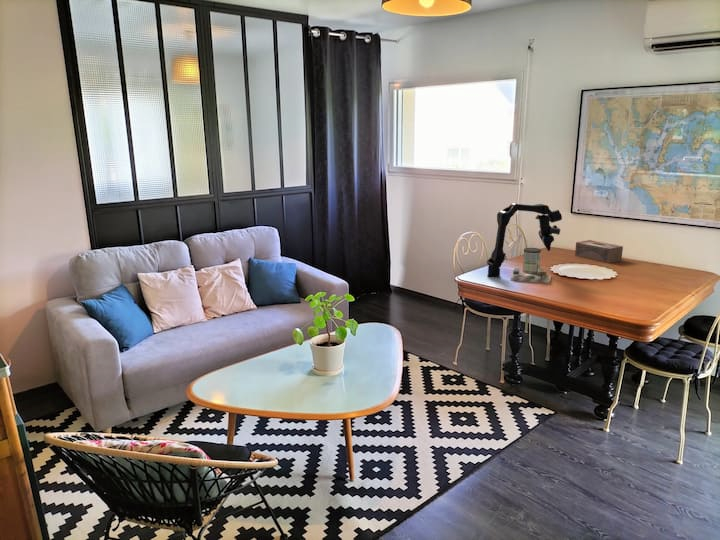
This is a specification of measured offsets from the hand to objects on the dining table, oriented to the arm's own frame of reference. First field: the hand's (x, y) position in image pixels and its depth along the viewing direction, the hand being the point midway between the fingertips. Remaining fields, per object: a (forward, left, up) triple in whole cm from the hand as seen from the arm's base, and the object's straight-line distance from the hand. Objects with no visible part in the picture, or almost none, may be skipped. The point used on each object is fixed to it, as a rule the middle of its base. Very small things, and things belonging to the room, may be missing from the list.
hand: (547, 248), depth 319 cm
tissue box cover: (+32, +49, -16) cm, 60 cm away
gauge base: (-8, -19, -15) cm, 26 cm away
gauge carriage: (-3, -21, -13) cm, 25 cm away
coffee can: (-9, 0, -15) cm, 18 cm away
